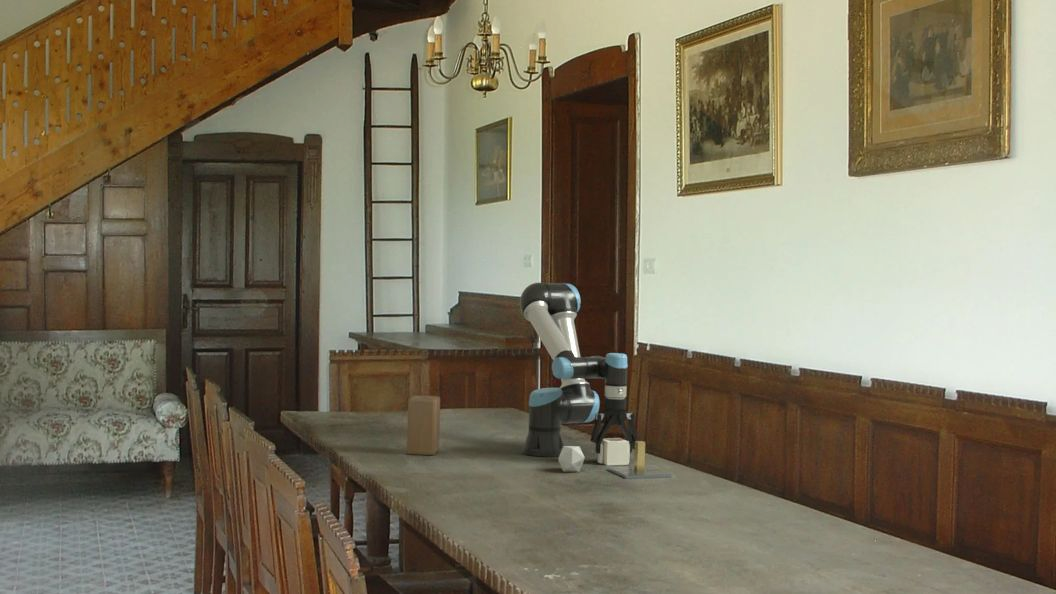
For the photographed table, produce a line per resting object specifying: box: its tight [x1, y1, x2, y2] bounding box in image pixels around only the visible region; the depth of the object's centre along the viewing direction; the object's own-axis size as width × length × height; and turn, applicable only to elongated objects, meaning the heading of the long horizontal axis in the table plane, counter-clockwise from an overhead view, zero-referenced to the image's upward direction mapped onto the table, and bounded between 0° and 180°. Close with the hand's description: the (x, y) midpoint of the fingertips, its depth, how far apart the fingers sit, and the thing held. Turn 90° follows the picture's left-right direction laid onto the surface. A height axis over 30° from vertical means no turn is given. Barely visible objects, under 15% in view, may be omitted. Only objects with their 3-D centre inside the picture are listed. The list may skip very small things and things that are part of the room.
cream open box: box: [601, 437, 630, 466], centre depth 382 cm, size 8×8×8 cm
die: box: [557, 445, 585, 473], centre depth 364 cm, size 8×9×10 cm
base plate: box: [607, 440, 673, 480], centre depth 363 cm, size 16×16×10 cm
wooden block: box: [406, 394, 441, 456], centre depth 390 cm, size 10×10×20 cm
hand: (613, 462), depth 382 cm, fingers open, 9 cm apart
